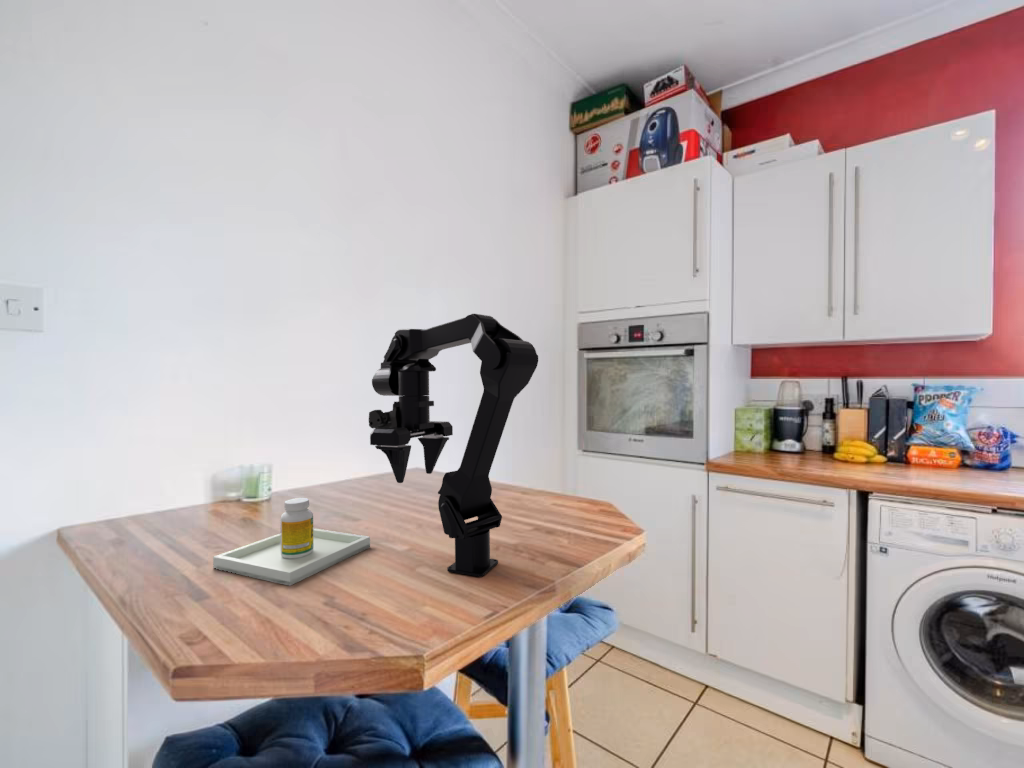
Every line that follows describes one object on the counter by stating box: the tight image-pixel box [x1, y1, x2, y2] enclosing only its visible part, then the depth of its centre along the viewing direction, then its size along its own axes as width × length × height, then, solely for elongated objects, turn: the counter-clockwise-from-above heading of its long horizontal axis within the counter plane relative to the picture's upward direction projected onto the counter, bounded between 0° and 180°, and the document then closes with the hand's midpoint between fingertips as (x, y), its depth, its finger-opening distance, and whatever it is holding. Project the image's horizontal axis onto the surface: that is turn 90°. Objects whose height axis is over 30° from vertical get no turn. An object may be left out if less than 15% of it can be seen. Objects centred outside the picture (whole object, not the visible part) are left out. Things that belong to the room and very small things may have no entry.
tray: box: [212, 527, 371, 586], centre depth 82 cm, size 18×18×2 cm
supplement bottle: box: [279, 497, 314, 559], centre depth 82 cm, size 5×5×10 cm
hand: (415, 477), depth 86 cm, fingers open, 9 cm apart
